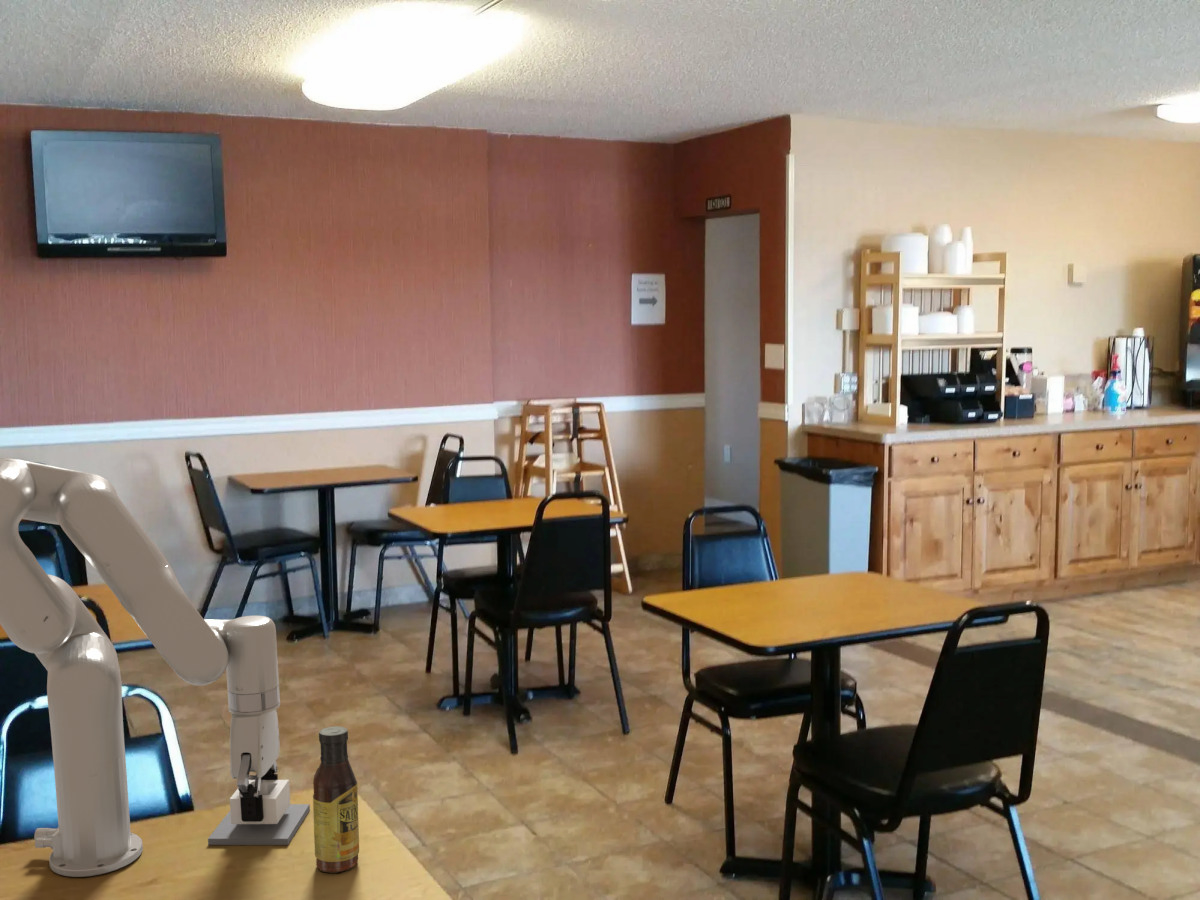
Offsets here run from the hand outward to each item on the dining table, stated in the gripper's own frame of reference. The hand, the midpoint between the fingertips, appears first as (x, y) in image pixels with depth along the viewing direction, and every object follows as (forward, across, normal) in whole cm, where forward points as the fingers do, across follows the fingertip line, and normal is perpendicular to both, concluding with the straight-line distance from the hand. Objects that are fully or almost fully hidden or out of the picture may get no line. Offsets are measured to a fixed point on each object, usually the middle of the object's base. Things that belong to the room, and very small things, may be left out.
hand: (260, 808), depth 182 cm
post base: (+3, 0, 0) cm, 3 cm away
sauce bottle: (+3, +12, +15) cm, 19 cm away
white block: (+1, 0, 0) cm, 1 cm away
